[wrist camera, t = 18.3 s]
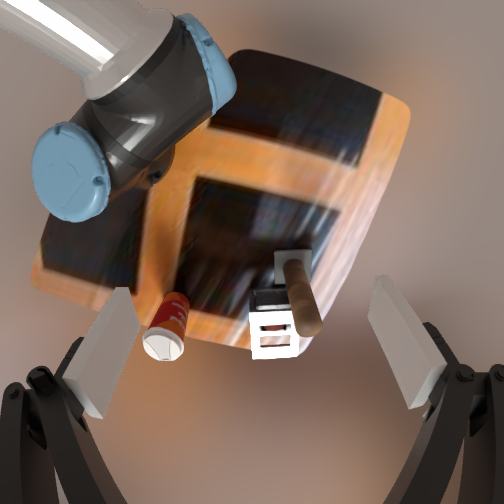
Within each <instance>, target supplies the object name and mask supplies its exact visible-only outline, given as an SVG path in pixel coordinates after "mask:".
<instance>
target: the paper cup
mask: <svg viewBox="0 0 504 504" xmlns="http://www.w3.org/2000/svg"><path fill="white" fill-rule="evenodd" d="M189 306H190V304H189V300H188V298H187V297H186V296H185V295H183V294H182V293H179V292H171V293H169V294H167V295H166V296H165V298H164V300H163V302H162V303H161V305H160V307H159V309H158V311H157V313H156V315H155V317H154V319H153V321H152V323H151V325H150V326H149V328H148V330H147V331H146V332H145V333H144V335H143V346H144V349H145V351H146V352H147V353H148V354H149V355H150V356H151V357H153V358H155V359H157V360H160V361H161V360H163V361H169V360H172V361H173V360H175V359H177V358H178V357H179V356H180V355H181V354H182V353H183V350H184V345H183V341H184V335H185V329H186V324H187V318H188V313H189Z"/></svg>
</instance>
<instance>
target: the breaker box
mask: <svg viewBox="0 0 504 504" xmlns="http://www.w3.org/2000/svg"><path fill="white" fill-rule="evenodd" d="M277 324H285V325H284V327H283V328H282V329H281V330H279V331H274V332H273V331H268V330H266V329H265V328H264V326H263V325H277ZM250 326H251V340H252V353H253V359H260V358H279V357H293V356H298V342H299V335H298V334H297V333H296V331H295V326H294V321H293V316H292V311H291V307H290V302H289V297H288V292H287V288H286V286H282V287H263V288H250ZM275 335H290V344H279V345H260V340H259V336H275Z"/></svg>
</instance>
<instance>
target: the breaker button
mask: <svg viewBox="0 0 504 504" xmlns="http://www.w3.org/2000/svg"><path fill="white" fill-rule="evenodd" d="M284 325H285V324H277V325H263V326H264V328H265V329H266V330H268V331H273V332H274V331H279V330H281V329H282V328H283V327H284Z"/></svg>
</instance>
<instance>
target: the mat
mask: <svg viewBox="0 0 504 504" xmlns="http://www.w3.org/2000/svg"><path fill="white" fill-rule="evenodd" d="M290 259H298V260H300V261H301V262H302V264H303V266H304V269H305V272H306V275H307V278H308V281H309V282H310V279H311V260H312V249H299V250H278V251H274V265H275V284H286V283H285V278H284V274H283V265H284V263H285V262H286V261H288V260H290Z"/></svg>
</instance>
